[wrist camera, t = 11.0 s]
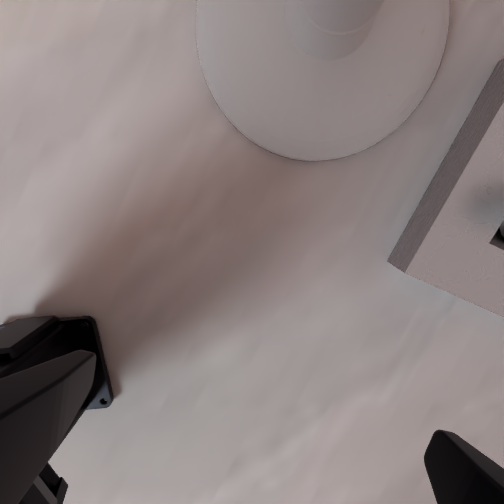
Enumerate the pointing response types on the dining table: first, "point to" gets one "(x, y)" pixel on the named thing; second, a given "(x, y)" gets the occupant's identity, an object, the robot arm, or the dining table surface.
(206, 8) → the candlestick
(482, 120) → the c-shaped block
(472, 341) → the dining table surface
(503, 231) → the rook chess piece
